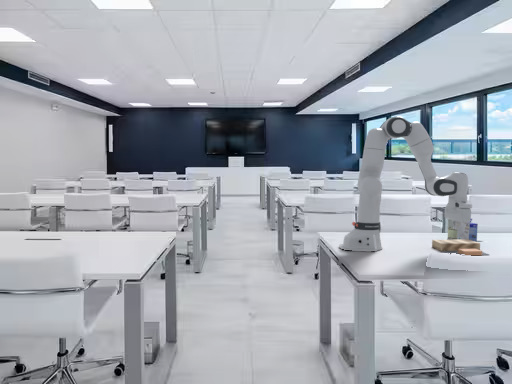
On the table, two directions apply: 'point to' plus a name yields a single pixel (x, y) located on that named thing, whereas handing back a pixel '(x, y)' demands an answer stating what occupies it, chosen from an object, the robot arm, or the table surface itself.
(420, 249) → the table surface
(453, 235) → the coffee can
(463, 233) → the ink cartridge box
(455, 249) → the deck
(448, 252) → the mat
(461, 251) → the block
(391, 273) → the table surface
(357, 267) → the table surface
